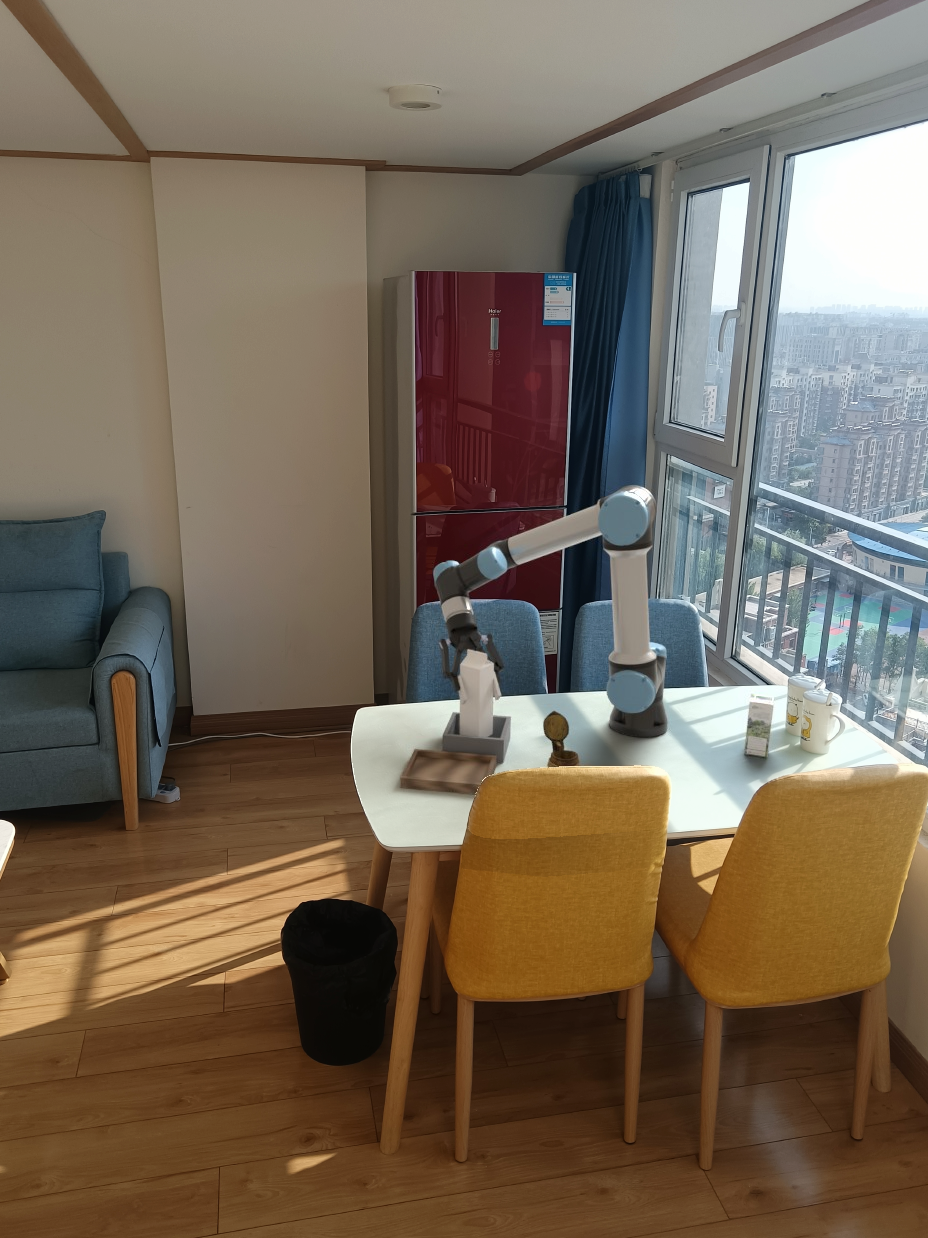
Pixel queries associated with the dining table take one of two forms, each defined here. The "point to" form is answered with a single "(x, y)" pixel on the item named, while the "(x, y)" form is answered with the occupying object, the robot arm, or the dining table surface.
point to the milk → (477, 695)
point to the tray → (447, 771)
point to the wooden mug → (559, 741)
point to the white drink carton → (759, 725)
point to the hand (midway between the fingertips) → (481, 699)
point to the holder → (478, 738)
